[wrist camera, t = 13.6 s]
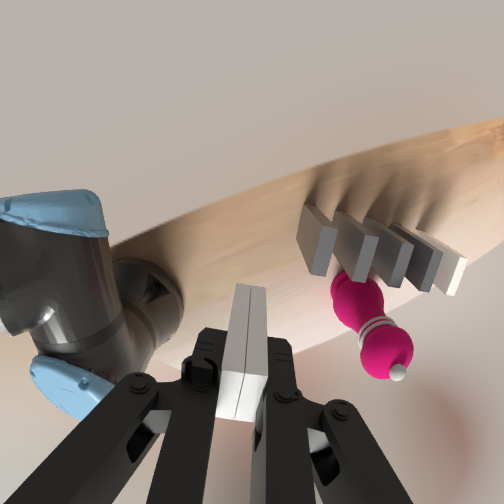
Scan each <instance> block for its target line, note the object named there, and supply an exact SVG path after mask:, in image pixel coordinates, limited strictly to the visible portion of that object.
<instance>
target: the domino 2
mask: <svg viewBox="0 0 504 504" xmlns="http://www.w3.org/2000/svg"><path fill="white" fill-rule="evenodd" d="M332 223H333V224H334V225H335V226H336V227H337V228H338V232H337V236H336V240H335V244H334V247H333V251H332V252H333V254H334V255H335V257H336V258H337V260H338V261H339V263H340V264H341V266H342V267H343V269H344V270H345V272H346V273H347V275H348V276H349V278H350V279H351V281H356V282H362V283H365V282H366V279H367V276H368V273H369V270H370V266H371V263H372V260H373V257H374V253H375V250H376V247H377V243H378V240H379V237H378V236H376V235H375V234H374V233H373V232H371V231H370V230H369V229H367V228H366V227H365V226H363V225H362V224H361V223H360V222H358V221H357V220H356V219H354V218H353V217H352V216H350V215H349V214H347V213H346V212H342V211H337V210H335V214H334V218H333V222H332Z"/></svg>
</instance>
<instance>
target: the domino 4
mask: <svg viewBox="0 0 504 504" xmlns="http://www.w3.org/2000/svg"><path fill="white" fill-rule="evenodd" d="M390 229H391V230H392V231H394V232H395V233H397V234H398V235H400V236H401V237H403V238H404V239H405V240H407V241H408V242H410V243H411V244H413V245H414V248H413V251H412V254H411V258H410V261H409V264H408V267H407V269H406V272H405V275H404V276H405V277H406V278H407V279H408V280H409V281H410V282H411V283H412V284H413V285H414V286H415V287H416V288H417V289H418V290H419V291H423V292H429V291H430V289H431V286H432V284H433V281H434V278H435V276H436V273H437V270H438V267H439V265H440V262H441V259H442V256H443V252H442V251H440V250H439V249H437V248H436V247H434V246H433V245H431V244H430V243H428V242H427V241H425V240H423V239H422V238H420V237H419V236H417V235H415V234H414V233H412V232H410V231H409V230H407V229H405V228H404V227H402V226H400V225H397V224H393V223H391V225H390Z"/></svg>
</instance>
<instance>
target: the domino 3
mask: <svg viewBox="0 0 504 504" xmlns="http://www.w3.org/2000/svg"><path fill="white" fill-rule="evenodd" d="M363 226H365V227H366V228H367V229H369V230H370V231H371V232H373V233H374V234H375V235H376V236H378V237H379V240H378V243H377V247H376V250H375V253H374V257H373V260H372V263H371V267H372V268H373V270H374V271H375V272H376V273H377V274H378V275H379V276H380V278H381V279H382V280H383V281H384V282H385V283H386V285H387V286H388V287H395V288H400V286H401V284H402V281H403V278H404V275H405V272H406V269H407V267H408V264H409V261H410V258H411V254H412V251H413V248H414V245H413V244H411V243H410V242H408V241H407V240H405V239H404V238H403V237H401V236H400V235H398V234H397V233H395V232H394V231H392V230H391V229H389V228H388V227H386V226H385V225H383V224H381V223H380V222H378V221H377V220H375V219H372V218H368V217H364V221H363Z"/></svg>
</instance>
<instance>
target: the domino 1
mask: <svg viewBox="0 0 504 504" xmlns="http://www.w3.org/2000/svg"><path fill="white" fill-rule="evenodd" d="M337 232H338V228H337V227H336V226H335V225H334V224H333V223H332V222H331V221H330V220H329V219H328V218H327V217H326V216H325V215H324V214H323V213H322V212H321V211H320V210H319V209H318V208H317V207H316V206H313V205H308V204H304V205H303V210H302V215H301V219H300V224H299V228H298V233H297V238H296V239H297V242H298V244H299V247H300V249H301V252H302V254H303V257H304V260H305V262H306V265H307V267H308V270H309V272H310V274H311V275H318V276H324V277H326V273H327V269H328V266H329V262H330V259H331V255H332V251H333V247H334V244H335V240H336V236H337Z"/></svg>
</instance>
